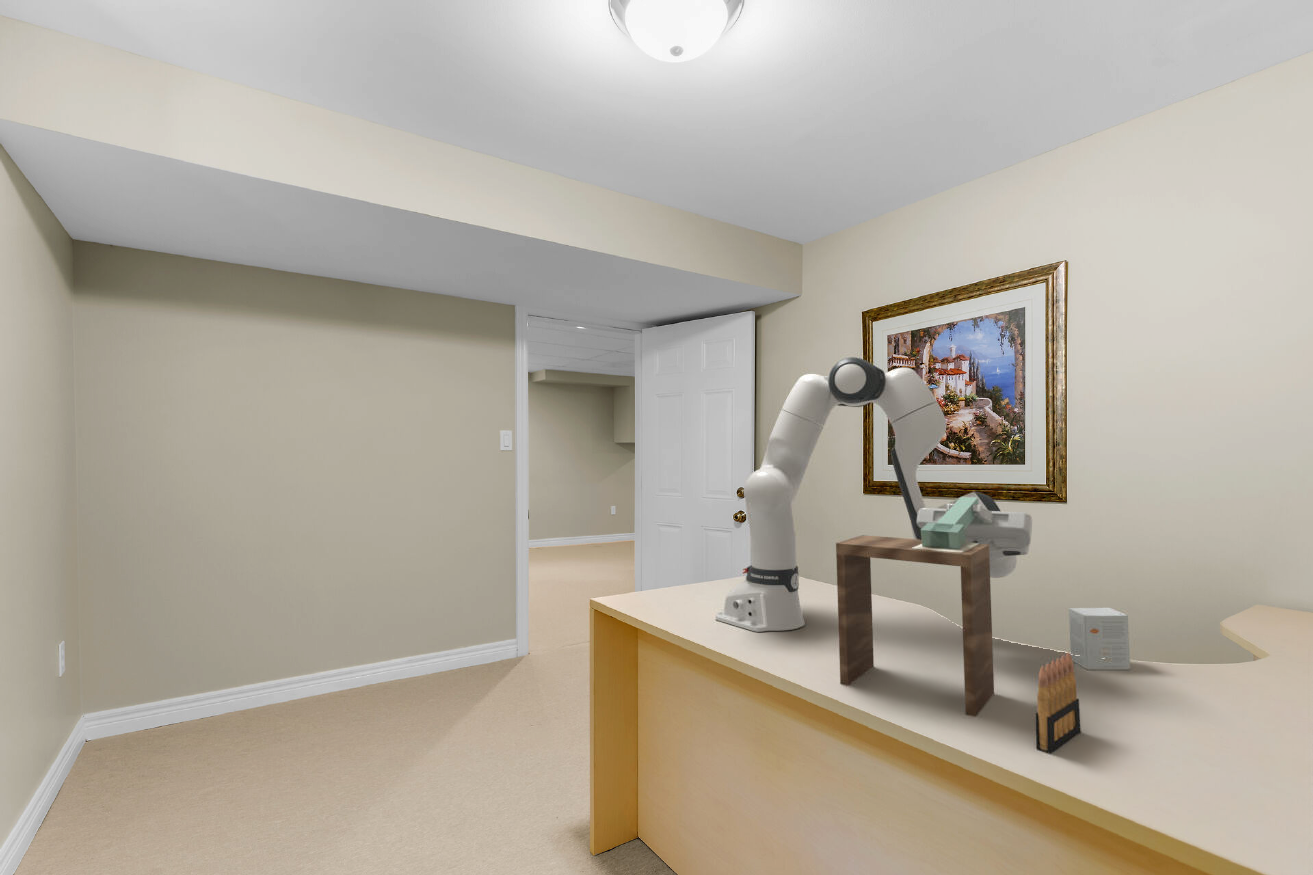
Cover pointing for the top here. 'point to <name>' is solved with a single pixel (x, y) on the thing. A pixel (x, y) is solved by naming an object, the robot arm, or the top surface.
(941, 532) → the sage lever
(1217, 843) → the top surface
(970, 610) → the walnut shelf
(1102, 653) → the small box
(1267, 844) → the top surface
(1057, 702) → the ammunition clip
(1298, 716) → the top surface
